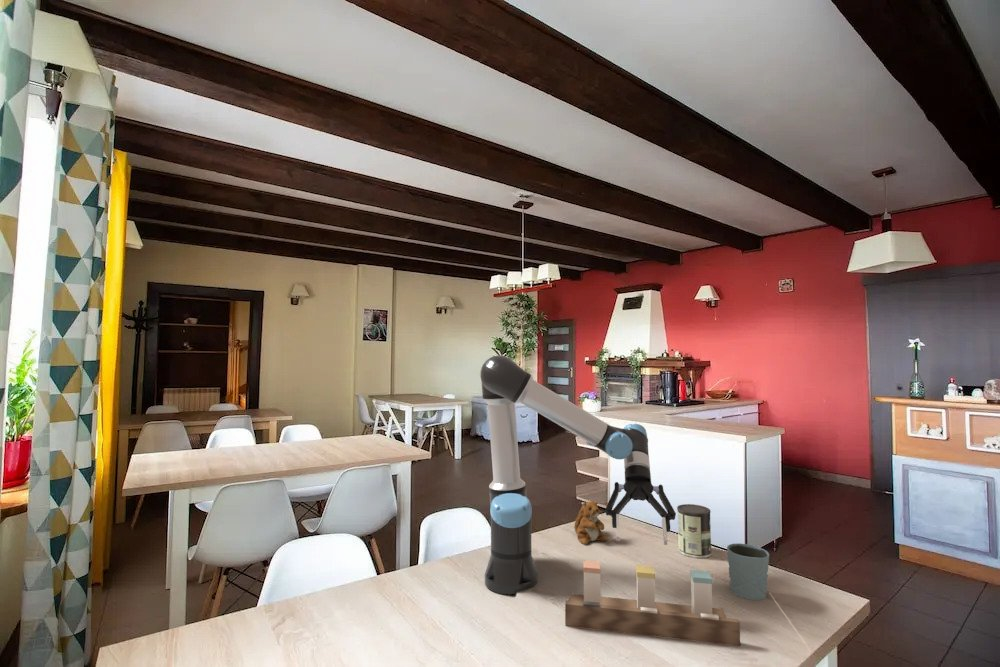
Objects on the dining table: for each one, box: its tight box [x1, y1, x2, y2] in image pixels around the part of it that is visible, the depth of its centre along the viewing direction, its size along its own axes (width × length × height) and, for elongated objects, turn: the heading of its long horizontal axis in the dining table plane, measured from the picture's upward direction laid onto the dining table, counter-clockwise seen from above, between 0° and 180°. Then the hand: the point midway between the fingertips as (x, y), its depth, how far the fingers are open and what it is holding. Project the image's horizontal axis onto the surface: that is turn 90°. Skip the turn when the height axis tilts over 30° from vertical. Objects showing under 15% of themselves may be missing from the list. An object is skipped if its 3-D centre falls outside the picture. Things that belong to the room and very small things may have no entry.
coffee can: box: [676, 503, 712, 559], centre depth 159 cm, size 10×10×14 cm
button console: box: [564, 592, 741, 647], centre depth 117 cm, size 38×16×6 cm, turn 78°
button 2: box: [689, 569, 713, 615], centre depth 117 cm, size 4×4×10 cm
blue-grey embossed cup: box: [726, 543, 770, 601], centre depth 130 cm, size 10×10×12 cm
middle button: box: [635, 564, 656, 609], centre depth 120 cm, size 4×4×10 cm
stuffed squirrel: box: [573, 500, 608, 545], centre depth 173 cm, size 10×14×13 cm
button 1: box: [582, 560, 601, 604], centre depth 122 cm, size 4×4×10 cm
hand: (641, 540), depth 131 cm, fingers open, 12 cm apart
